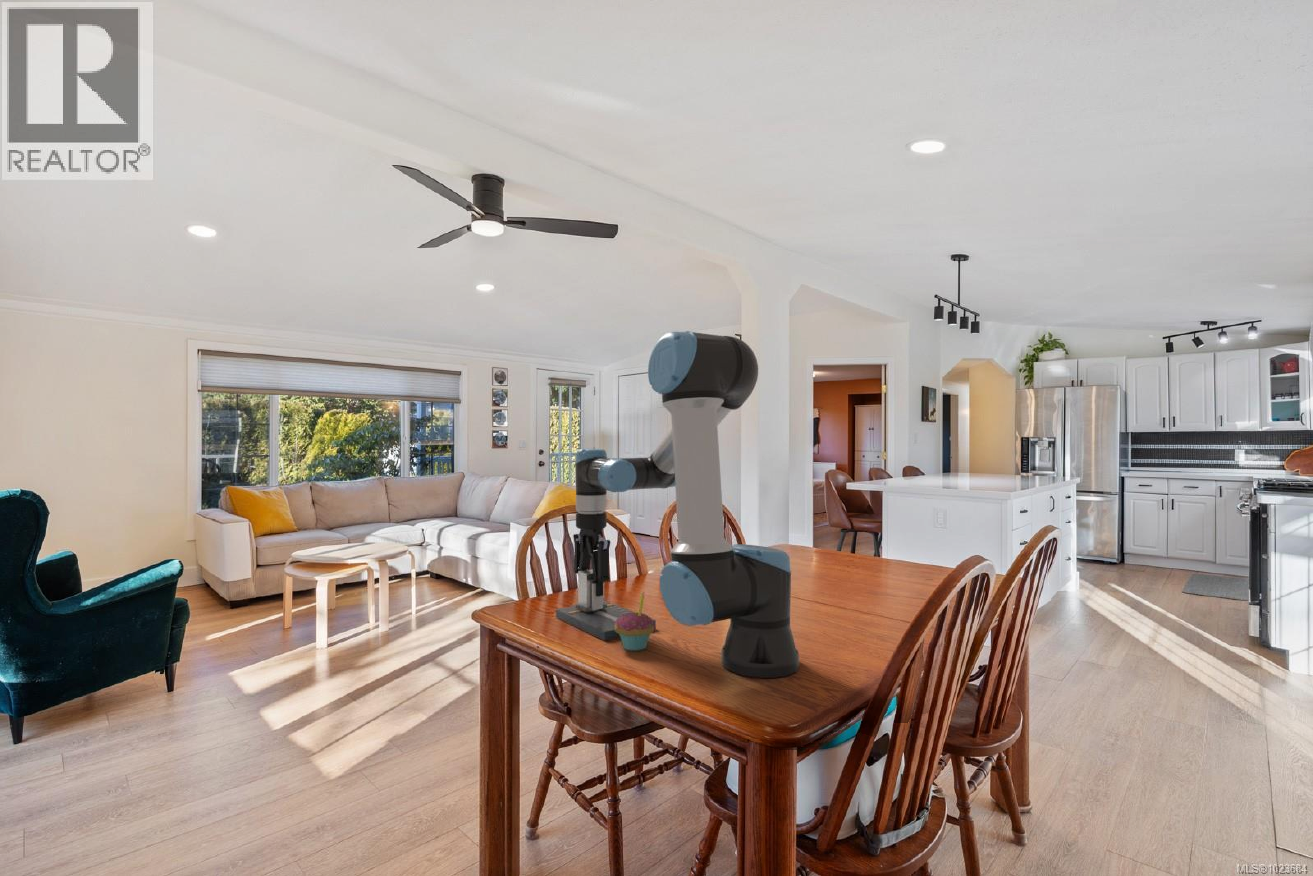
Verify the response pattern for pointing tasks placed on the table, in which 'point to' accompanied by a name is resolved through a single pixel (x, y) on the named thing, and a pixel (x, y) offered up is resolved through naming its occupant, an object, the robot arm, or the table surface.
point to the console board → (595, 620)
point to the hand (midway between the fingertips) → (591, 606)
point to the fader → (586, 591)
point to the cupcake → (634, 628)
